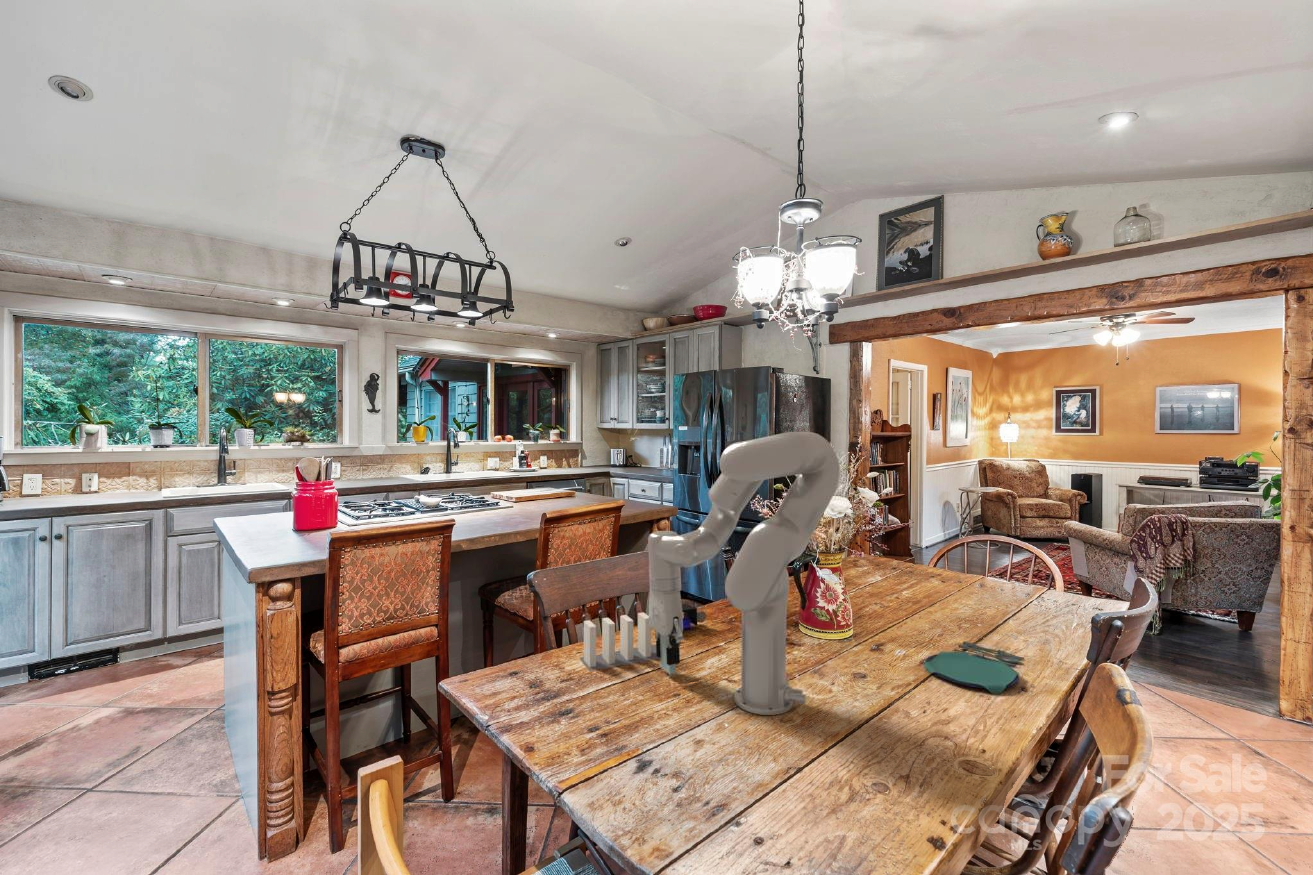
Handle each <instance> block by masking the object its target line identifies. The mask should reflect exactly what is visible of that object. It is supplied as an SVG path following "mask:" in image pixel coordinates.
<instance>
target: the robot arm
mask: <svg viewBox="0 0 1313 875" xmlns="http://www.w3.org/2000/svg"><path fill="white" fill-rule="evenodd" d="M719 469H720V472H721V473H720V475H719V476H718V478H717V479H715V480H716V481H715V482H714V483H713V485H712V486H711V488H710V489H709V490H708V499H709V500H710V502H711V508H710V510H709V512H708V514H707V516H706V518H705V519H704V520H703V522H702V523H701V524H700V526H699V527H698V528H697V529H696V530H693V531H689V532H687V533H684V534H678V533H677V532H676V531H673V530H659V531H654V532H651V533H650V534H649V535H648V537H647V541H648V542H647V544H648V546H647V547H648V548H647V550H648V572H649V573H648V574H649V578H648V579H649V597H648V616H649V625H650V627H651V630H654V632H655V633H654V639H655V645H656V656H657V657H661V652H660V634H661V635H663V636H666V638H667V645H668V647H667V648H666V658H667V664H668V665H672V664H676V665H677V664H680V663H681V661H680V660H681V656H680V655H681V654H680V646H681V642H682V640H684V636H683V631H684V629H683V618H684V613H683V612H682V604H683V603H682V599H681V598H682V597H681V591H682V575H681V568H686V569H687V568H688V569H689V568H692V567H695V566H698V565H700V564H702V563H704V562H706V561H709V560H712V558H714V557H716V555H717V554H718V553H719V552H720V551H721V549H723V547H724V546H725V544H726V542H727V541H728V540H729V538H730V537H731V535H732V534H733V532H734V531H735V528H736V526H737V524H738V522H739V520H740V515H741V513H742V512H743V510H744V509H745V508H746V506H747V504H749V501H750V500H751V499H752V498H753V497H754V495H755V494H756V492H757V491H758V489H759V488H760V487H761V485H762V484H763V483H764V481H765V480H770V479H777V478H782V477H783V478H784V477H789V476H796V477H795V480H794V482H792V484H791V486H790V487H789V489H788V490H787V492H786V494H785V496H784V498H783V500H782V501H781V504H780V506H779V507H778V508H777V510H776V512H775V513H774V515H773V516H772V517H770V518H768V519H765V520H763V521H760V523H758V524H757V525H755V526H754V527H753V529H751V531H750V532H749V534H748V536H746V539H745V541H744V542H743V544H742V546H741V548H740V550H739V552H738V554H737V555H736V558H735V560H734V562H733V563H732V565H731V567H730V569H729V571H728V573H727V575H726V579H725V583H724V584H725V585H724V590H725V596H726V597H727V600H728V602H729V603H730V605H731V606H733V608H735V609H737V610H739V611H741V630H740V631H741V633H740V634H741V635H740V636H741V637H740V638H741V640H740V641H741V644H740V645H741V647H740V648H741V650H740V652H741V654H740V655H741V656H740V657H741V658H740V660H741V661H740V662H741V667H740V669H741V670H740V671H741V675H740V676H741V679H740V680H741V681H740V682H741V683H740V684H741V686H740V687H739V688H737V689H736V690H735V692H734V693H733V694H734V696H733V700H734V703H735V704H736V705H737V706H738V708H740V709H742V710H744V711H745V712H749V713H751V714H756V715H761V716H777V715H781V714H784V713H787V712H788V711H791V709H793V706H794V703H796V704H800V705H801V704H802V705H806V703H807V694H805V693H803V689H800V688H799V689H798V688H793V687H792V686H790V680H789V679H787V612H788V610H787V609H788V601H789V591H790V576H789V572H788V569H787V567H788V565H789V564H790V563H791V562H792V561H794V560H795V559H798V558H799V557H800V556H801V555H802V554H803V553H804V552H805V550H806V548H807V546H808V544H809V542H810V540H811V538H812V536H813V534H814V533H815V531H816V529H817V528H818V525H819V523H820V522H821V520H822V518H823V515H824V514H825V512H826V510H827V508H828V506H829V505H830V503H831V501H832V499H833V497H834V495H835V493H836V489H837V487H838V484H839V480H840V463H839V459H838V455H837V453H836V451H835V449H834V448H833V445H831V443H830V442H829V441H828V440H827V439H826V438H825V437H823V436H822V435H820V434H819V433H816V432H811V431H788V432H781V433H777V434H773V435H768V436H763V437H758V438H754V439H748V440H745V441H744V440H743V441H736V442H734V443H731V444H729V445H728V446H726V448H725V449H724V450H723V452H722V453H721V456H720V458H719ZM671 631H674V632H675V633H671ZM672 636H675V638H673V639H672V641H671V638H670V637H672Z"/></svg>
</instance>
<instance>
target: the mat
mask: <svg viewBox="0 0 1313 875" xmlns="http://www.w3.org/2000/svg"><path fill="white" fill-rule="evenodd" d="M578 659H579V660H580V662H581V663H582V664H583V665H584V666H585V667H586V669H587V670H588V671H589V672H594V671H599V670H605V669H609V668H615V667H620V666H626V665H631V664H632V665H633V664H636V663H643V662H647V661H653V660H660V659H661V657H657V656H656V644H651V656H650V657H644V656H643V655H642V654H641V653H640V652H639V651H638V647H633V660H628V661H627V660H626V659H625V658H624V657H623V656H622V655H621V654H620V650H615V663H612V664H608V663H607V661H606V660H605V659H604V658H603V657H602V653H600V654H596V667H589V666H588V665H587V663H586V662H585V661H584V656H582V657H581V656H580V657H578Z"/></svg>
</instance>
